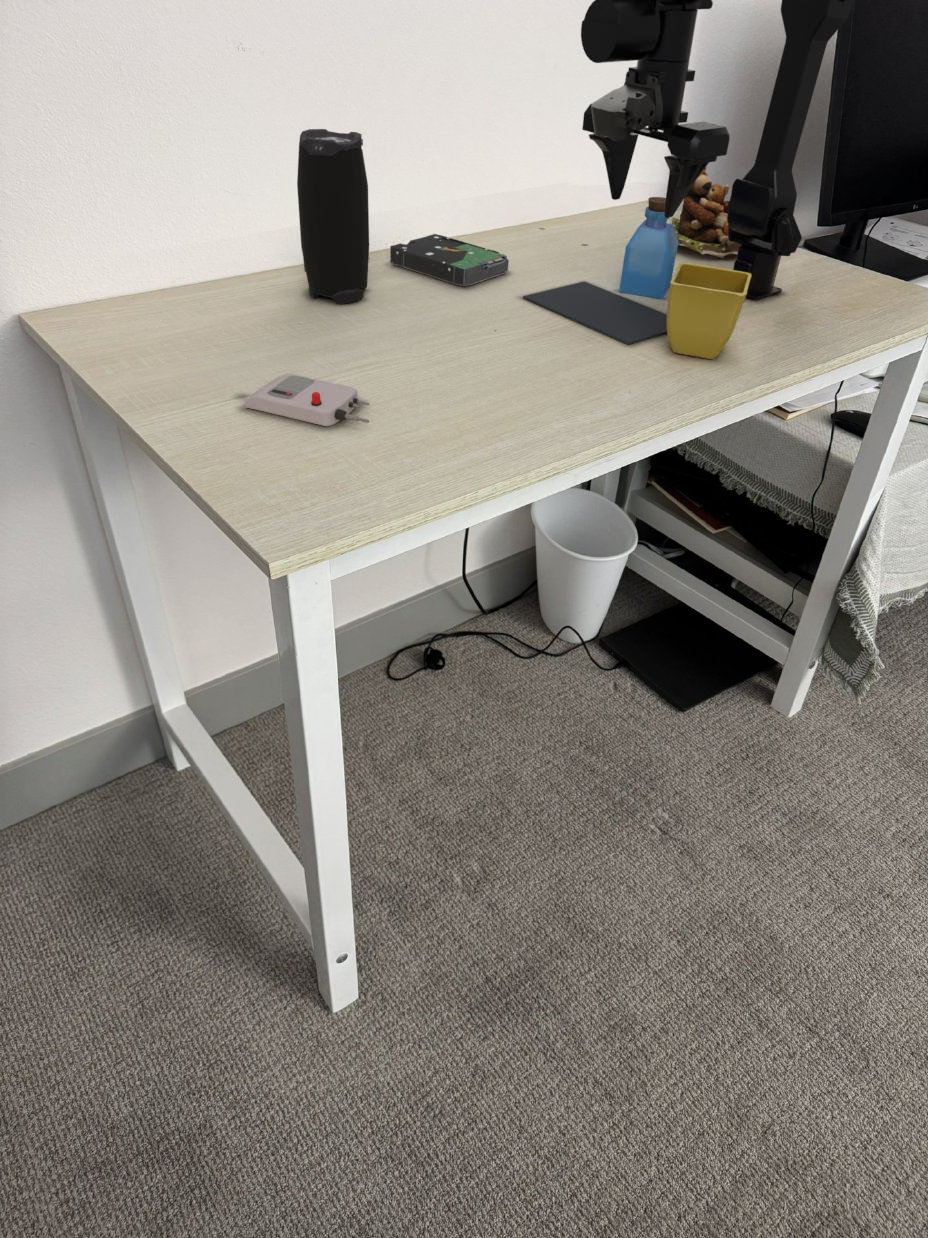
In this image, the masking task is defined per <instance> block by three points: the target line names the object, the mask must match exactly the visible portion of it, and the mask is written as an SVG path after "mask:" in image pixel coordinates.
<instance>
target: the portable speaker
mask: <svg viewBox="0 0 928 1238" xmlns="http://www.w3.org/2000/svg"><path fill="white" fill-rule="evenodd" d="M362 137H363V135H362V133H360V132H357V131H350V132H349V133H348V132H345V133H344V132H335V131H330V130H328V129H326V128H309V129H306V130H303V131H301V133H300V135H299V141H298V158H297V177H296V178H297V179H296V180H297V181H296V186H297V187H296V188H297V199H298V200H297V201H298V202H297V203H298V204H297V205H298V216H299V217H298V218H299V231H300V249H301V252H302V253H301V254H302V259H303V268H304V273H305V274H306V275H305V276H306V279H307V285H308V295H309V296H310V297H311V298H312V299H315V298H318V296H322V297H328V298H331V299H332V300H333V301H334V302H335V303H336V304H338V305H345V304H351V303H355V302H357V301H361V300H362V299H363V297H364V293H365V291H366V290H367V288H368V277H369V261H370V220H369V219H370V215H369V210H370V209H369V183H368V176H367V171H366V164H365V158H364V152H363V151H364V150H363V147H364V138H362ZM362 146H363V147H362Z"/></svg>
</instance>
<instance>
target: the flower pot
mask: <svg viewBox="0 0 928 1238" xmlns="http://www.w3.org/2000/svg"><path fill="white" fill-rule="evenodd" d="M750 279H751V273H747V272H741V271H736V270H733V269H730V268H723V267H717V266H710V265H703V264H696V263H688V262H679V264H678V265H677V267H676V270H675V272H674V273H673V275H672V279H671V282H670V287H669V289H668V290H669V291H668V299H667V300H668V301H667V310H666V314H667V333H666V334H667V338H668V342H669V345H670V348H671V350H672V352H673V353H675V354H678V355H679V354H681V355H686V356H692V357H697V358H703V359H708V360H714V359H715V358H716V357H717V356H718V355H719V354H720V353H721V352H722V351H723V350H724V348H725V347H726V345H727V344H728V342H729V340H730V339H731V337H732V334H733V332H734V331H735V328H736V325H737V322H738V320H739V316H740V313H741V311H742V309H743V305H744V303H745V300H746V298H747V297H746V294H747V290H748V286H749V283H750Z"/></svg>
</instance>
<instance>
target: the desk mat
mask: <svg viewBox="0 0 928 1238" xmlns="http://www.w3.org/2000/svg"><path fill="white" fill-rule="evenodd" d="M522 299H524V300H526V301H528V302H530V303H533V304H535V305H536V306H537V305H538V306H539V307H542V308H544V309H547V311H551V312H553V313H555V314H558V315H560V316H562V317H565V318H566V319H568V320H571V321H573V322H576V323H579V324H580V325H583V326H584V327H587V328H589V329H591V330H594V331H596V332H598V333H601V334H603V335H605V336H608V337H609V338H612V339H614V340H616V341H619V342H621V343H623V344H625V345H628V346H629V345H632V344H636V343H639V342H642V341H646V340H649V339H652V338H656V337H659V336H662V335H666V334H667V313H664V312H662V311H659V310H657V309H654V308H653V307H649V306H646V305H645V304H641V303H640V302H637V301H634V300H632V299H629V298H627V297H625V296H622V295H619V294H617V293H614V292H612V291H609V290H607V289H604V288H602V287H599V286H598V285H597V286H596V285H594V284H592V283H590V282H588V281H580V282H576V283H571V284H568V285H563V286H559V287H556V288H551V289H547V290H542V291H539V292H535V293H530V294H527V295H523V296H522Z"/></svg>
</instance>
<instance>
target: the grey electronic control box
mask: <svg viewBox="0 0 928 1238" xmlns="http://www.w3.org/2000/svg"><path fill="white" fill-rule="evenodd" d="M358 404H359V405H358ZM360 405H365V406H370V402H367V401H362V400H359V399H358V389H357V388H356V387H352V386H348V385H344V384H339V383H334V382H331V381H330V382H329V381H326V380H321V379H317V378H313V377H308V376H303V375H298V374H294V373H287V374H283V375H281V376H278V377H276V378H274V379H272V380H271V381H269V382H268V383H266V384H265V385H263V386H262V387H260V388H259V389H257V390H256V391H255V392H253V393H251V394H250V395H249V396H248V397H246V398H245V399H244V407H245V408H246V409H252V410H256V411H261V412H264V413H269V414H273V415H277V416H281V417H285V418H288V419H294V420H297V421H302V422H306V423H311V424H315V425H318V426H322V427H323V426H324V427H331V426H334V425H335V424H337V423H338V422H340V421H345V420H349V421H354V422H362V423H367V424H368V423H370V419H367V418H363V417H359V416H358V415H354V414H350V413H351V412H353V411H354V410H355V408H356V409H360V408H361V406H360Z"/></svg>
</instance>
